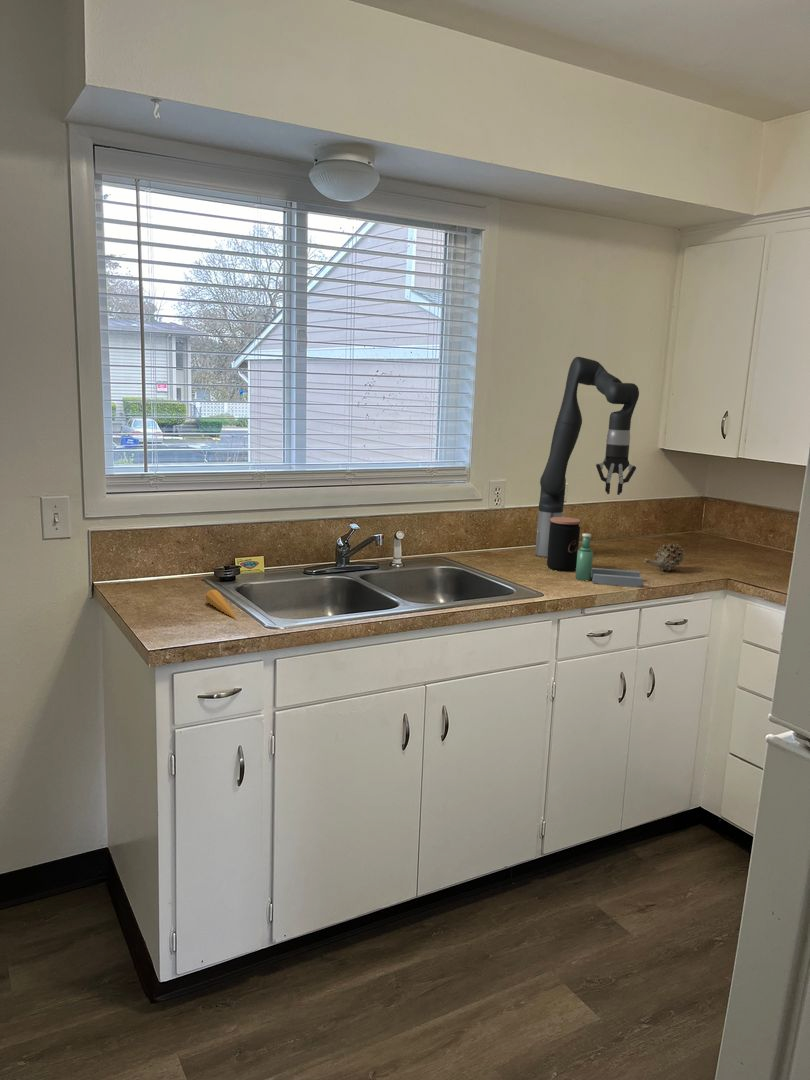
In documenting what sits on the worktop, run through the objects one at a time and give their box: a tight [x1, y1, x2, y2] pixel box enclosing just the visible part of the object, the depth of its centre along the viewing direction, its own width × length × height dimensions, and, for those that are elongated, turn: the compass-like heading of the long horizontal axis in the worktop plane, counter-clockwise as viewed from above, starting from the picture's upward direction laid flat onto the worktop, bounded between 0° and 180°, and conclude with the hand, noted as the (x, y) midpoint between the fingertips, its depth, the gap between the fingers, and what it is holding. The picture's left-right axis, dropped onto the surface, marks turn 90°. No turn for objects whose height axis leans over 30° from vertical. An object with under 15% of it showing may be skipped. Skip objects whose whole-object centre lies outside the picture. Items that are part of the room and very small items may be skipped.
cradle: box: [591, 567, 644, 589], centre depth 279 cm, size 16×11×3 cm
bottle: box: [574, 532, 594, 581], centre depth 279 cm, size 5×5×16 cm
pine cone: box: [643, 542, 685, 572], centre depth 297 cm, size 22×10×10 cm, turn 135°
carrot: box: [205, 589, 237, 620], centre depth 227 cm, size 20×4×4 cm, turn 33°
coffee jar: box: [546, 516, 581, 572], centre depth 294 cm, size 11×11×18 cm
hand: (613, 493), depth 280 cm, fingers open, 3 cm apart
